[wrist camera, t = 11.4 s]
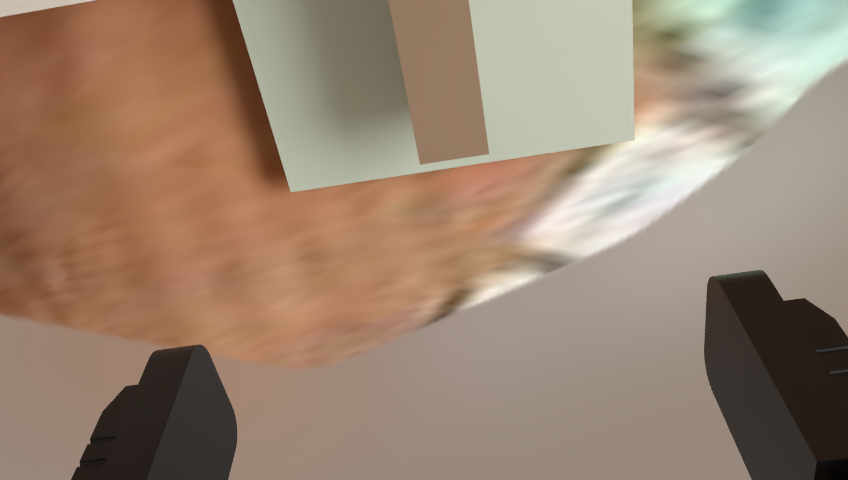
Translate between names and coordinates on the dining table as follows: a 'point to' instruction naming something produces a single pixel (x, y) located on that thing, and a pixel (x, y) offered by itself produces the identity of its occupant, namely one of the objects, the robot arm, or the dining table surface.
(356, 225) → the dining table surface
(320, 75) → the lid
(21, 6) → the box
